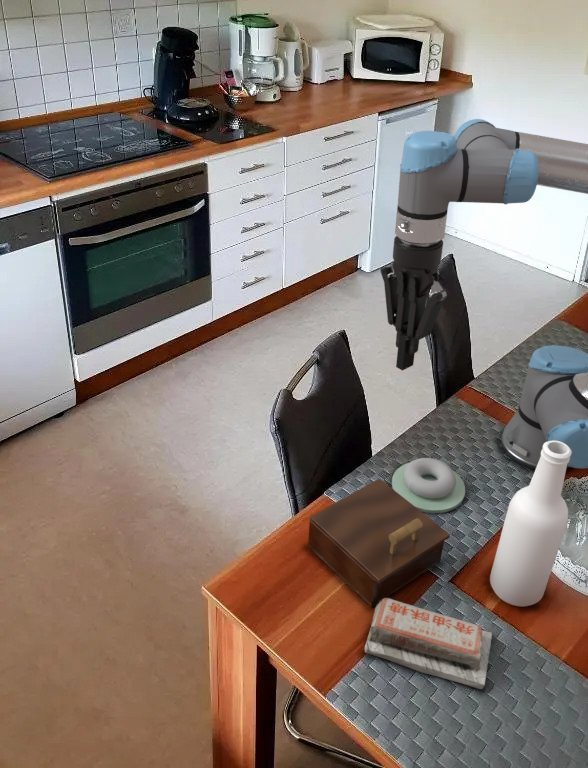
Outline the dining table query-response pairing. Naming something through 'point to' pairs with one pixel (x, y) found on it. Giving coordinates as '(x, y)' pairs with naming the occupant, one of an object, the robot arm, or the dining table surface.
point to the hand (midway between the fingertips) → (404, 365)
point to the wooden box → (359, 577)
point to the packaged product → (430, 642)
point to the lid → (379, 529)
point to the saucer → (425, 503)
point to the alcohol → (532, 531)
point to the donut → (425, 486)
